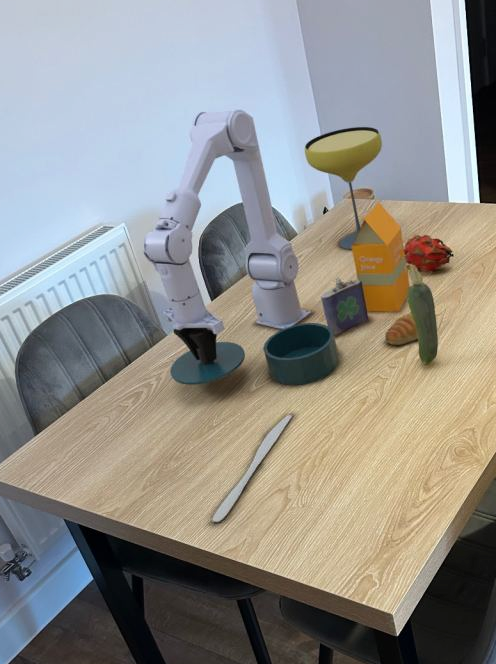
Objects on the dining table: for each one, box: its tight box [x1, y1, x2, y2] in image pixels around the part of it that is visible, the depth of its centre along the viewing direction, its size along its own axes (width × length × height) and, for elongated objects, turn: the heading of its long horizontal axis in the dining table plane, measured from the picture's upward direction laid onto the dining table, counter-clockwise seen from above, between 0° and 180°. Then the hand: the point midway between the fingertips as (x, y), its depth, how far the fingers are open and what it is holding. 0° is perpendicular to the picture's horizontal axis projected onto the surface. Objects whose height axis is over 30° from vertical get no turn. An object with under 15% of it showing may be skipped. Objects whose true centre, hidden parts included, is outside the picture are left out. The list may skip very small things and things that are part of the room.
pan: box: [262, 322, 340, 386], centre depth 143 cm, size 13×13×6 cm
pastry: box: [384, 311, 418, 346], centre depth 145 cm, size 9×7×4 cm
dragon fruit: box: [404, 234, 455, 274], centre depth 167 cm, size 8×8×12 cm
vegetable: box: [404, 263, 439, 366], centre depth 130 cm, size 4×4×20 cm
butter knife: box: [212, 414, 293, 523], centre depth 122 cm, size 1×27×3 cm
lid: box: [169, 341, 246, 386], centre depth 142 cm, size 14×14×4 cm
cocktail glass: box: [304, 126, 383, 250], centre depth 183 cm, size 18×18×25 cm
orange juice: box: [351, 201, 411, 313], centre depth 154 cm, size 8×9×20 cm
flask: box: [320, 277, 369, 337], centre depth 151 cm, size 9×3×11 cm, turn 121°
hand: (206, 359), depth 142 cm, fingers closed on lid, 2 cm apart
